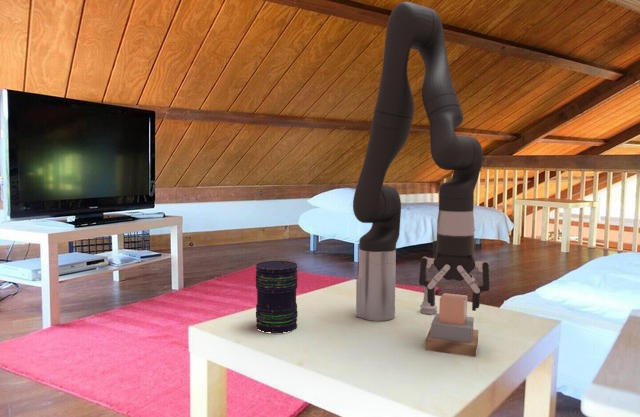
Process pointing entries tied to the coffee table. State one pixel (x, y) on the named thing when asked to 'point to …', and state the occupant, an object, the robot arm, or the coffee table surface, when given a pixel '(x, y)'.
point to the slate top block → (452, 330)
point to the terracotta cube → (453, 309)
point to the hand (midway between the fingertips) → (453, 307)
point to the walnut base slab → (452, 345)
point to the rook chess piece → (427, 304)
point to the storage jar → (276, 296)
